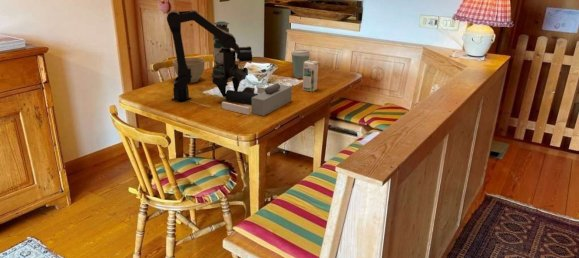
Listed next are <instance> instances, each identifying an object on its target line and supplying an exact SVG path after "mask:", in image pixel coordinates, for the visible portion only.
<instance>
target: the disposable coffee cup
mask: <svg viewBox="0 0 579 258" xmlns="http://www.w3.org/2000/svg"><path fill="white" fill-rule="evenodd" d="M310 56H311V52H310V50H309V49H294V50H292V51H291V61H292V62H291V63H292V71H293V72H292V73H293V76H294V78H297V79H303V70H304V62H305V61H308V60H309V61H310Z"/></svg>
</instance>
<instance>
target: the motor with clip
mask: <svg viewBox="0 0 579 258" xmlns="http://www.w3.org/2000/svg"><path fill="white" fill-rule="evenodd" d="M256 90H257V91H256V92H257V93H256V94H259V95H256V96H254V97H252V104H251V109H250V106H245V105H239V104H235V103H231V102H227V101H221V109H222V110H226V111H231V112H235V113H240V114H244V115H247V116H249V115H250V113H251V114H254V115H259V116H263V117H264V116H266V115H268V114H270V113H271V112H275V110H277V109H279V108H281V107H283V106H285V105H286V104H288V103H290V102H292V93H293V92H292V91H293V88H292V86H291V85H286V84H279V83H277V82H276V83H273V84H271V85H269V86H267V87H265V86H264V87H262V86H257V89H256ZM250 111H251V112H250Z"/></svg>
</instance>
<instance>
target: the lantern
mask: <svg viewBox="0 0 579 258" xmlns="http://www.w3.org/2000/svg"><path fill="white" fill-rule="evenodd" d="M213 24H214V25H215V26H217V27H218V28H220V29H222V30H224V31H226V32H228V33H230V29H229V27H228V25H230V22H226V21H221V20H220V21H218V22H214V23H213ZM212 40H214V43H213V52H212V55H213V58H214V63H215V65H214V66H213V68H212V73H211V78H213V77H215V76H218V75H219V76H224V75H222V73H223V67H222V66H221V64H223V53H219V49H220V48H221V47H223V48H226V47H225V46H224V45H223V44H222V43H221V42H220V41H219V40H218V39H217V38H216V36H214V35H213V38H212ZM230 49H231V50H232V48H230ZM236 55H237V53H236ZM238 61H239V60H238ZM236 64H241V62H240V61H239V62H237V61H236Z"/></svg>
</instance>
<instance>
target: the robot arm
mask: <svg viewBox="0 0 579 258" xmlns="http://www.w3.org/2000/svg"><path fill="white" fill-rule="evenodd" d="M166 21H167V24H168V27H169V29H170V32H171V34H172V39H173V44H174V51H175V56H176V59H177V62H178V75H177V76H176V77H175V79H173V87H172V90H173V98H171V100H172V101H175V102H178V103H184V102H187V101H189V100H191V99H192V97H190V94H189V86H188V85H189V84H190V82H191V78H192V72H191V66H187V63H186V59H185V58H186V55H185V49H184V42H183V37H182V23H186V22H192V21H193V22H195V23H197V24H198V25H199V26H201V27H202V28H203V29H205V30H206V31H207V32H209V33H210V34H212V35H213V37H214V36H216V38H217V39H218V40H219V41H220V42H221V43H222V44H223V45H224V46H225V47H226V48H223V47H221V48H220V49H219V53H223V64H221V66H222V67H223V73H222V75H224V76H219V75H218V76H215V77H212V78H211V79H212V84H213V85H215V86H217V88H218V91H220V94H221V97H223V98H225V95H226V92H227V87H228V85H229V80H231V82H232V86H233V91H239V86H240V84H241V82H242V81H243V80H245V79H246V78H247V77H248V75H249V69H248V68H247V67H243V68H241V67H239V63H236V62H237V60H238V61H240V63H241V62H243V63H247V62H251V63H252V62H253V52H252V47H251V46H240V45H239V44H238V43H237V41H236V37H235V36H234V34H232V33H231V32H229V33H228V32H226V31H224V30H222V29H220V28H218V27H217V26H216V24H214V23H213V22H211V21H210V20H208V18H205V16H203V15H202V14H200V13H199V12H198V11H197V10H196V9H192V10H183V11H179V10H178V11H177V10H174V9H173V10H170V11H169V12H168V13H167V16H166ZM230 48H231V49H230ZM236 53H237V54H236Z"/></svg>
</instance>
